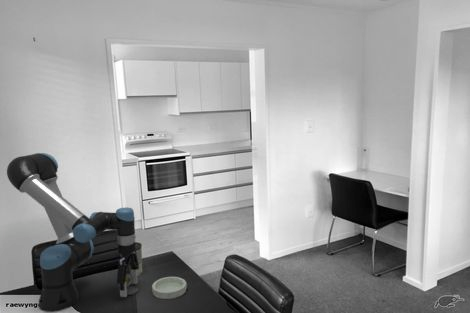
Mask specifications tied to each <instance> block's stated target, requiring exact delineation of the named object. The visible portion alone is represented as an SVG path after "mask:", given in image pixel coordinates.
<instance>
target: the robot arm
mask: <svg viewBox="0 0 470 313" xmlns="http://www.w3.org/2000/svg"><path fill="white" fill-rule="evenodd" d="M58 169H59V165H58V160H56V158H55V157H54V156H52V155H51V154H49V153H45V152H41V153H40V152H37V153H33V154H28V155H22V156H17V157H15V158H14V159H12V160H11V161H10V162H9V164H8V166H7V169H6V176H7V179H8V181H9V182H10V183H11V185H12V186H13V187H14V188H16V189H17V191H18V192H20V193H22V194H23V193H26V194H27V195H28V196H30V197H31V199H33V200H34V201H35V202H37V203H38V204H39V205H40V206H42V207H43V209H44V210H45V212H46V215H47V217H48V220H49V222H50V224H51V226H52V229H53V230H54V233H55V235H56V237H57V239H56V240H57V241H56V242H55V245H53V246H52V245H51V246H49V247H47V248H46V249H44V250H43V251H42V252H41V253H40V256H39V257H40V259H39V266H40V273H41V283H42V289H41V293H40V295H39V300H38V306H39V309H40V310H42V311H44V312H57V311H62V309H63V310H65V308H66V309H68V308H70V307H72V306H74V305H75V304H76V303H78V301H79V291H78V289H77V287H76V285H75V283H74V277H73V271H75V270H76V269H77V268H78V267H81V265H82V264H84V263H86V262H87V261H88V260H89V259H90V258H91V257H92V256H93V253H94V250H95V246H94V243H93V241H92V240H94V239H95V237H97V236H98V235H100V234H102V233H104V232H105V231H116V235H117V237H116V238H117V251H118V253H119V254H120V256H121V255H122V258H121V257H120V259H118V262H117V265H118V266H117V274H116V276H117V278H116V284H117V285H118V284H120V285H119V297H120V298H127V296H128V295H127V288H126V284H127V283H126V281H125V280H126V274H127V269H128V267H129V265H130V267H131V268H132V269H133V270H132V269H131V275H132V276H133V282H132V284H134V285H135V284H138V276H137V269H139V267H137V266H139V263H138V259H137V255H136V243H135V242H136V239H137V236H136V229H135V228H136V227H135V226H136V225H135V212H134V209H133V208H132V207H120V208H118V209H116V211H115V212H108V211H107V212H106V211H94V212H93V213H91V214H90V216H89V217H88V216H87V215H85V213H83V212H82V211H81V210H79V209H78V208H77V207H76V206H74V205H73V204H72V203H71V202H69V201H68V200H67V199H66V198H64V196H63V194H62V193H61V190H60V188H59V186H58V184H57V180H58V178H59V177H58V174H57V172H58V171H59V170H58ZM125 264H126V265H125ZM132 284H131V285H132ZM67 307H68V308H67Z"/></svg>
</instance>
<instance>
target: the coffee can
mask: <svg viewBox="0 0 470 313" xmlns="http://www.w3.org/2000/svg"><path fill="white" fill-rule="evenodd" d="M135 243H136V255H137V259H138V263H139V266H137V267H139V269H137V277H138V276H140V275H141V274H142V273H143V271H144V270H143V256H142V255H143V254H142V247H143V246H142V243H141V242H137V241H135ZM121 258H122V255H121V254H120V259H121ZM125 265H126V264H125ZM131 269H132V268H131V267H130V265H129V267H128V271H127V273H129V274H131ZM132 270H133V269H132Z"/></svg>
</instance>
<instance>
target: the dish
mask: <svg viewBox="0 0 470 313" xmlns="http://www.w3.org/2000/svg"><path fill="white" fill-rule="evenodd" d="M187 286H188V284H187V281H186V280H185V279H184V278H181V277H179V276H167V277H162V278H159V279H157V280H156V281H154V282H153V284H152V285H151V291H152V295H153V296H154V297H155V298H158V299H160V300H172V299H177V298H180V297H182V296H183V295H185V293H186V291H187V288H188V287H187Z"/></svg>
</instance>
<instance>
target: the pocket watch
mask: <svg viewBox="0 0 470 313" xmlns="http://www.w3.org/2000/svg"><path fill="white" fill-rule="evenodd" d="M127 271H128V269H127ZM125 282H126V288H127V296H132V295H134V294H137V292H138V291H139V288H138V287H136V286H131V285H132V282H133V276H132V275H131V274H129V273H127V274H126V280H125ZM119 286H120V284H119Z"/></svg>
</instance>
